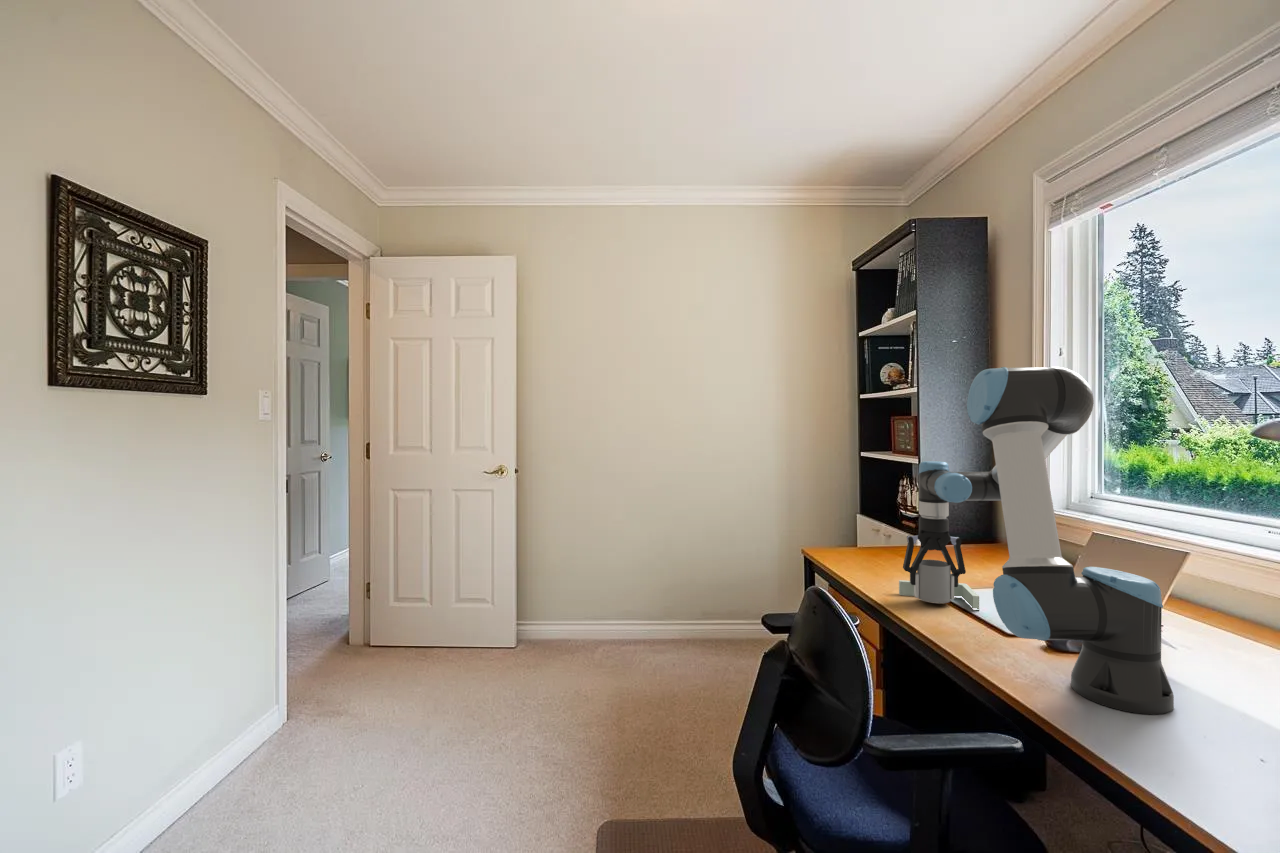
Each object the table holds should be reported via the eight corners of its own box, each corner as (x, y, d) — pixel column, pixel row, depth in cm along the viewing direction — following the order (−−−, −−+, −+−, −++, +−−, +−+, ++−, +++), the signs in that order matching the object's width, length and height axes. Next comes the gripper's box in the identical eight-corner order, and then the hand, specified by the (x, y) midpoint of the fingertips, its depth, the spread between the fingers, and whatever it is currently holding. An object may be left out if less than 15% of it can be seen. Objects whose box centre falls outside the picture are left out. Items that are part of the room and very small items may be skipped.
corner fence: (979, 611, 163) (979, 596, 162) (907, 606, 167) (907, 592, 167) (965, 597, 175) (965, 583, 174) (899, 593, 179) (898, 580, 179)
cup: (916, 600, 168) (916, 564, 168) (918, 592, 175) (918, 558, 175) (950, 604, 164) (950, 568, 164) (950, 596, 171) (950, 561, 171)
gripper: (971, 515, 170) (971, 595, 170) (890, 513, 175) (891, 591, 175) (979, 520, 163) (979, 603, 163) (895, 517, 168) (895, 599, 168)
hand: (933, 597), depth 169 cm, fingers open, 8 cm apart
